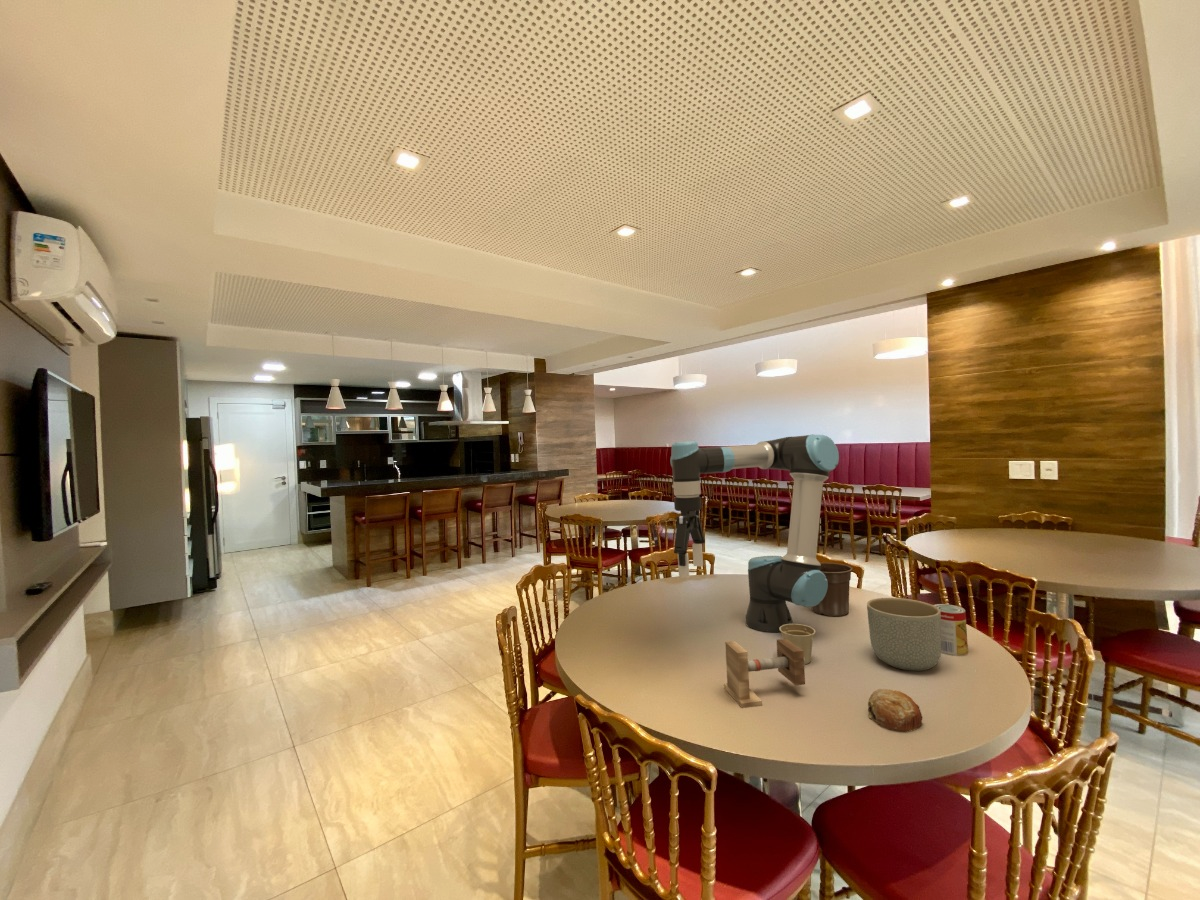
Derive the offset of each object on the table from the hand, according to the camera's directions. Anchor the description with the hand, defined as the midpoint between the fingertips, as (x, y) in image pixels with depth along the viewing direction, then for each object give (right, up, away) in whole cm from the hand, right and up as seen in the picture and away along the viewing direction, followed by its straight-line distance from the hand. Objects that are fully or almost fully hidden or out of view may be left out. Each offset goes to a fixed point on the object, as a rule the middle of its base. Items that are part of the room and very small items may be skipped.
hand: (691, 571), depth 135 cm
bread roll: (+38, -24, -31) cm, 55 cm away
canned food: (+74, -23, +2) cm, 78 cm away
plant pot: (+58, -25, +39) cm, 74 cm away
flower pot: (+30, -25, 0) cm, 39 cm away
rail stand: (+16, -25, -17) cm, 34 cm away
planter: (+57, -24, -5) cm, 62 cm away
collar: (+22, -22, -16) cm, 35 cm away
